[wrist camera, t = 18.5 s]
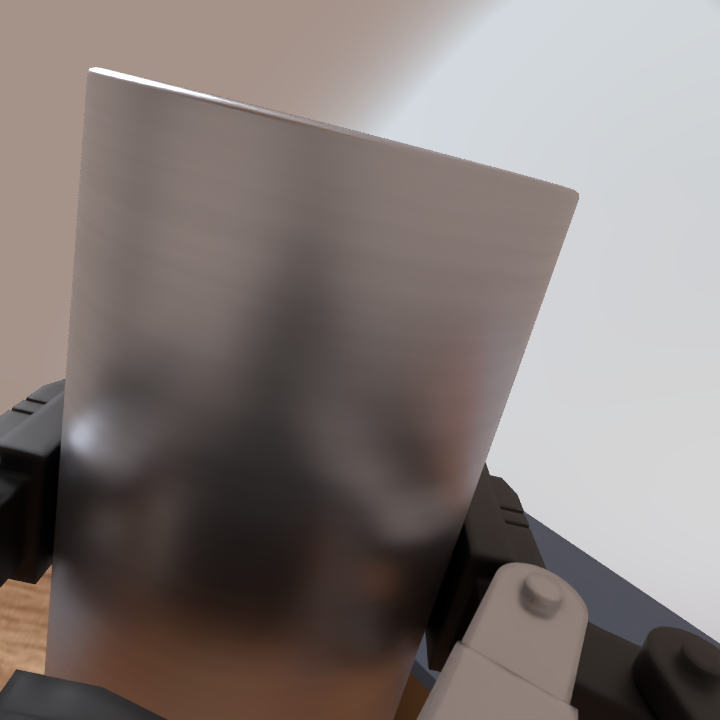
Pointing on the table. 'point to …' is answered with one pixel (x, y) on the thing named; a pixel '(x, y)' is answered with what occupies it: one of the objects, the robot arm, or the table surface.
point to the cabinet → (589, 598)
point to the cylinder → (276, 399)
